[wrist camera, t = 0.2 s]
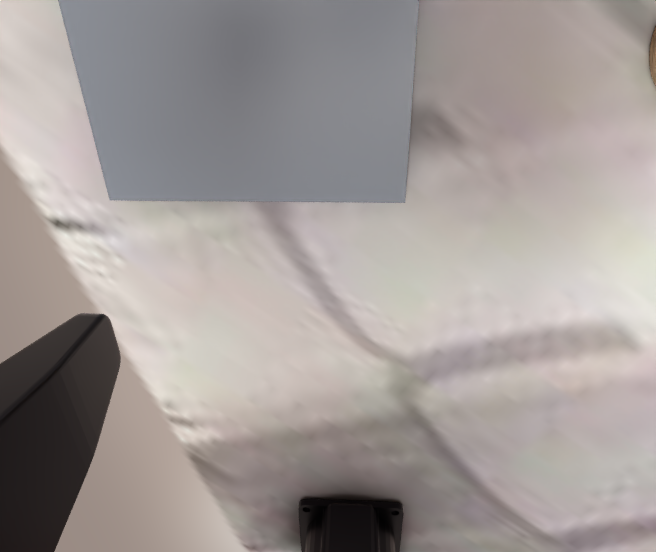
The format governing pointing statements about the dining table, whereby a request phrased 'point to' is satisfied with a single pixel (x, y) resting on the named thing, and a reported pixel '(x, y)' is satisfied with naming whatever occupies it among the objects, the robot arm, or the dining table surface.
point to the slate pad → (248, 97)
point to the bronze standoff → (653, 56)
